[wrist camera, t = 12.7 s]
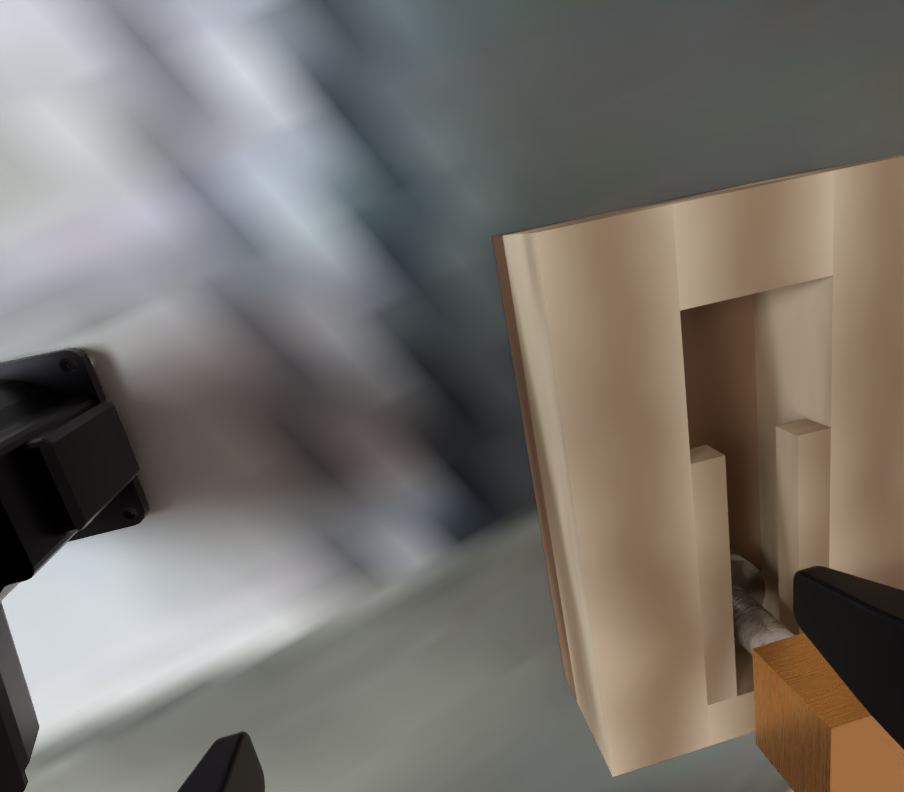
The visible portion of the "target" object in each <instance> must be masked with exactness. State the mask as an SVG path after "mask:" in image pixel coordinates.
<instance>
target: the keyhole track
mask: <svg viewBox="0 0 904 792" xmlns="http://www.w3.org/2000/svg"><path fill="white" fill-rule="evenodd" d="M492 240H493V246H494V252H495V258H496V264H497V270H498V276H499V282H500V288H501V294H502V300H503V306H504V312H505V318H506V324H507V330H508V336H509V342H510V348H511V354H512V360H513V366H514V372H515V378H516V384H517V390H518V396H519V402H520V408H521V415H522V421H523V427H524V433H525V439H526V445H527V451H528V457H529V463H530V469H531V475H532V481H533V487H534V493H535V499H536V505H537V511H538V517H539V523H540V529H541V535H542V541H543V547H544V553H545V559H546V565H547V571H548V577H549V583H550V589H551V595H552V601H553V607H554V613H555V619H556V625H557V631H558V637H559V643H560V649H561V655H562V661H563V667H564V673H565V678H566V680H567V682H568V684H569V686H570V688H571V690H572V692H573V694H574V696H575V699H576V701H577V703H578V705H579V707H580V709H581V711H582V713H583V715H584V717H585V720H586V722H587V724H588V726H589V728H590V730H591V732H592V734H593V736H594V738H595V740H596V743H597V745H598V747H599V749H600V751H601V753H602V755H603V757H604V759H605V761H606V764H607V766H608V768H609V770H610V772H611V774H612V776H613V777H614V776H617V775H621V774H624V773H627V772H630V771H633V770H636V769H639V768H642V767H646V766H649V765H652V764H655V763H658V762H661V761H664V760H667V759H670V758H674V757H677V756H680V755H683V754H686V753H689V752H692V751H695V750H699V749H702V748H705V747H708V746H711V745H714V744H717V743H720V742H724V741H727V740H730V739H733V738H736V737H739V736H742V735H745V734H749V733H752V732H755V707H754V680H753V656H752V655H751V654H750V653H749V652H748V651H747V650H746V649H745V648H744V647H743V646H742V645H741V644H740V643H739V642H738V641H737V640H736V639H735V638H734V624H733V604H732V584H731V564H730V548H732V549H734V550H735V551H736V552H738V553H739V554H740V555H741V556H743V557H744V558H745V559H746V560H748V561H749V562H750V563H751V564H753V565H754V566H755V567H756V568H757V569H758V570H759V571H760V572H761V574H762V576H763V578H764V581H765V597H764V601H763V603H762V606H763V607H764V608H765V609H766V610H767V611H768V612H769V613H771V614H772V615H773V616H774V617H775V618H776V619H777V620H778V621H780V622H781V623H782V624H783V625H784V626H785V627H786V628H787V629H789V630H790V631H791V632H792V633H793V634H794V635H798V634H801V633H803V631H802V630H801V629H800V627H799V626H798V624H797V623H796V620H795V618H794V615H793V576H794V574H795V573H796V572H797V571H799V570H802V569H806V568H809V567H813V566H824V567H827V568H831V569H834V570H837V571H841V572H844V573H847V574H851V575H854V576H857V577H861V578H864V579H868V580H871V581H874V582H878V583H881V584H884V585H888V586H891V587H894V588H898V589H901V590H904V154H902V155H896V156H890V157H884V158H878V159H873V160H867V161H861V162H855V163H849V164H844V165H838V166H832V167H826V168H820V169H815V170H811V171H806V172H801V173H796V174H791V175H786V176H782V177H777V178H772V179H767V180H762V181H757V182H753V183H748V184H743V185H738V186H733V187H728V188H724V189H719V190H714V191H709V192H704V193H699V194H695V195H690V196H685V197H680V198H675V199H671V200H666V201H661V202H656V203H651V204H646V205H642V206H637V207H632V208H627V209H622V210H617V211H613V212H608V213H603V214H598V215H593V216H588V217H584V218H579V219H574V220H569V221H564V222H560V223H555V224H550V225H545V226H540V227H535V228H531V229H526V230H521V231H516V232H511V233H506V234H502V235H497V236H492Z"/></svg>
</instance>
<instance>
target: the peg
mask: <svg viewBox="0 0 904 792" xmlns="http://www.w3.org/2000/svg"><path fill="white" fill-rule="evenodd" d="M730 564H731V584H732V604H733V624H734V638H735V639H736V640H737V641H738V642H739V643H740V644H741V645H742V646H743V647H744V648H745V649H746V650H747V651H748V652H749V653H750V654H751V655H752V656H753V680H754V707H755V735H756V744H757V746H758V747H759V748H760V749H761V751H762V752H763V753H764V754H765V756H766V757H767V758H768V759H769V761H770V762H771V763H772V764H773V766H774V767H775V768H776V769H777V771H778V772H779V773H780V774H781V776H782V777H783V778H784V779H785V781H786V782H787V783H788V784H789V786H790V787H791V788H792V789H793V791H794V792H904V750H903V748H902V747H901V746H900V745H899V744H898V743H897V742H896V741H895V740H894V739H893V738H892V737H891V736H890V735H889V734H888V733H887V732H886V731H885V730H884V729H883V727H882V726H881V725H880V724H879V723H878V722H877V721H876V720H875V719H874V718H873V717H872V715H871V714H870V713H869V712H868V711H867V710H866V709H865V707H864V706H863V705H862V704H861V703H860V702H859V700H858V699H857V698H856V697H855V696H854V694H853V693H852V692H851V691H850V689H849V688H848V687H847V686H846V684H845V683H844V682H843V681H842V679H841V678H840V677H839V676H838V675H837V673H836V672H835V671H834V670H833V668H832V667H831V666H830V665H829V663H828V662H827V661H826V660H825V658H824V657H823V656H822V655H821V654H820V652H819V651H818V650H817V649H816V647H815V646H814V645H813V644H812V642H811V641H810V640H809V639H808V638H807V636H806V635H805V634H804V633H801V634H798V635H794V634H793V633H792V632H791V631H790V630H789V629H787V628H786V627H785V626H784V625H783V624H782V623H781V622H780V621H778V620H777V619H776V618H775V617H774V616H773V615H772V614H771V613H769V612H768V611H767V610H766V609H765V608H764V607H763V606H762V603H763V601H764V597H765V581H764V578H763V576H762V574H761V572H760V571H759V570H758V569H757V568H756V567H755V566H754V565H753V564H751V563H750V562H749V561H748V560H746V559H745V558H744V557H743V556H741V555H740V554H739V553H738V552H736V551H735V550H734V549H732V548H730Z"/></svg>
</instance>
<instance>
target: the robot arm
mask: <svg viewBox="0 0 904 792" xmlns="http://www.w3.org/2000/svg"><path fill="white" fill-rule="evenodd" d="M67 358H71V359H73V360H74V361H75V362H76V364H77V368H76V370H72V369H70V368H68V366H67V365H66V359H67ZM138 471H139V466H138V463H137V461H136V458H135V456H134V453H133V451H132V448H131V446H130V443H129V441H128V438H127V436H126V433H125V431H124V428H123V426H122V423H121V421H120V418H119V416H118V413H117V411H116V408H115V406H114V405H112V404H111V403H109V402H107V401H106V398H105V396H104V393H103V391H102V388H101V386H100V383H99V381H98V378H97V376H96V373H95V371H94V368H93V366H92V364H91V361H90V359H89V357H88V356H87V354H85V353H84V352H83V351H81V350H79V349H76V348H68V349H63V350H59V351H54V352H49V353H44V354H40V355H35V356H30V357H26V358H21V359H16V360H11V361H7V362H2V363H0V792H23V791H24V790H25V788H26V786H27V783H28V780H27V777H26V774H25V769H26V767H27V765H28V763H29V761H30V758H31V754H32V751H33V748H34V744H35V741H36V737H37V734H38V730H39V724H38V721H37V717H36V713H35V710H34V706H33V703H32V700H31V696H30V693H29V690H28V687H27V683H26V680H25V677H24V674H23V670H22V667H21V664H20V661H19V657H18V654H17V651H16V648H15V645H14V641H13V638H12V635H11V632H10V628H9V625H8V622H7V619H6V615H5V612H4V609H3V606H2V602H1V600H2V599H3V598H4V597H5V596H6V595H7V594H8V593H9V592H10V591H12V590H13V589H14V588H15V587H16V586H17V585H18V584H19V583H20V582H22V581H26V580H28V579H30V578H32V577H33V576H34V575H35V574H36V573H37V572H38V571H39V570H40V569H41V568H42V567H43V566H44V565H45V564H46V563H47V562H48V561H49V560H50V559H51V558H52V557H53V556H54V555H55V554H56V553H57V552H58V551H59V550H60V549H61V548H62V547H63V546H64V545H65V544H66V543H67V542H69V541H73V540H77V539H81V538H85V537H89V536H93V535H97V534H101V533H105V532H109V531H113V530H117V529H121V528H125V527H129V526H133V525H136V524H139V523H140V522H141V521H142V520H143V519H144V518H145V517H146V515H147V514H148V511H149V506H148V502H147V500H146V498H145V495H144V493H143V490H142V488H141V485H140V483H139V480H138V478H137V475H136V474H137V473H138ZM127 507H133V508H135V509H136V510H137V514H131V513H129V512H128V511H127ZM793 615H794V618H795V620H796V623H797V624H798V626H799V627H800V629H801V630H802V631H803V633H804V634H805V635H806V636H807V638H808V639H809V640H810V641H811V642H812V644H813V645H814V646H815V647H816V649H817V650H818V651H819V652H820V654H821V655H822V656H823V657H824V658H825V660H826V661H827V662H828V663H829V665H830V666H831V667H832V668H833V670H834V671H835V672H836V673H837V675H838V676H839V677H840V678H841V679H842V681H843V682H844V683H845V684H846V686H847V687H848V688H849V689H850V691H851V692H852V693H853V694H854V696H855V697H856V698H857V699H858V700H859V702H860V703H861V704H862V705H863V706H864V707H865V709H866V710H867V711H868V712H869V713H870V714H871V715H872V717H873V718H874V719H875V720H876V721H877V722H878V723H879V724H880V725H881V726H882V727H883V729H884V730H885V731H886V732H887V733H888V734H889V735H890V736H891V737H892V738H893V739H894V740H895V741H896V742H897V743H898V744H899V745H900V746H901V747H902V748H903V750H904V590H901V589H898V588H894V587H891V586H888V585H884V584H881V583H878V582H874V581H871V580H868V579H864V578H861V577H857V576H854V575H851V574H847V573H844V572H841V571H837V570H834V569H831V568H827V567H824V566H813V567H809V568H806V569H802V570H799V571H797V572H796V573H795V574H794V576H793ZM177 792H265V781H264V774H263V770H262V767H261V765H260V762H259V760H258V757H257V754H256V752H255V749H254V747H253V744H252V741H251V739H250V737H249V735H248V734H247V733H246V732H244V731H240V732H237V733H233V734H230V735H226V736H223V737H220V738H218V739H217V740H216V741H215V742H214V743H213V744H212V745H211V747H210V748H209V749H208V751H207V752H206V753H205V755H204V756H203V757H202V759H201V760H200V761H199V763H198V764H197V765H196V767H195V768H194V770H193V771H192V772H191V774H190V775H189V776H188V778H187V779H186V780H185V782H184V783H183V784H182V786H181V787H180V788H179V790H178V791H177Z"/></svg>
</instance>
